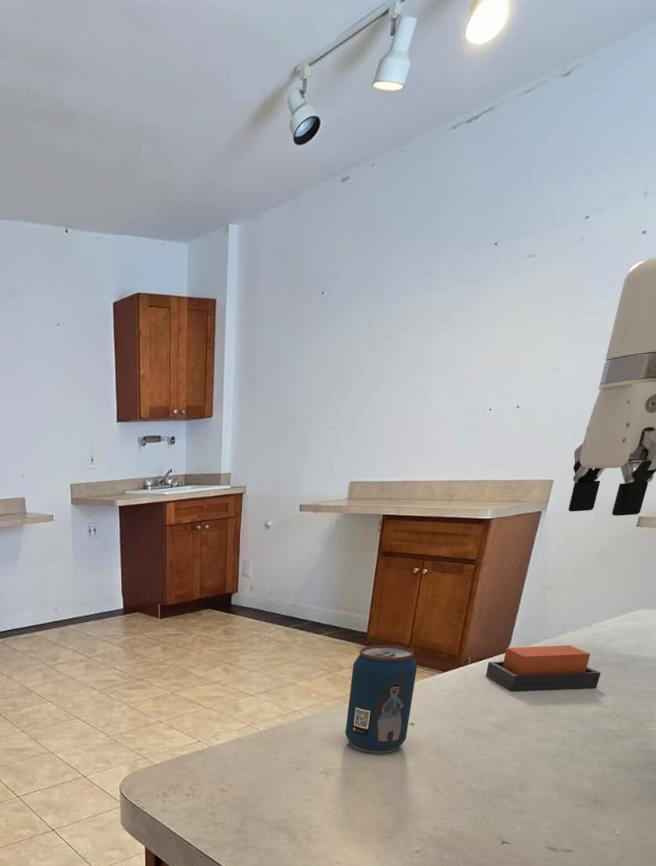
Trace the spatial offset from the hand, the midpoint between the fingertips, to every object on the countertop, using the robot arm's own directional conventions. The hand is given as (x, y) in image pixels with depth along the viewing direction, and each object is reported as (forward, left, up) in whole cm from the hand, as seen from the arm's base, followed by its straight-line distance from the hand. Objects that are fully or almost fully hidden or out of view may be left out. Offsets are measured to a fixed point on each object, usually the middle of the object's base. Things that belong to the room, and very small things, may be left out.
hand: (601, 512), depth 91 cm
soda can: (+37, +27, -24) cm, 51 cm away
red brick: (+6, +5, -22) cm, 24 cm away
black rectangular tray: (+6, +5, -23) cm, 25 cm away
